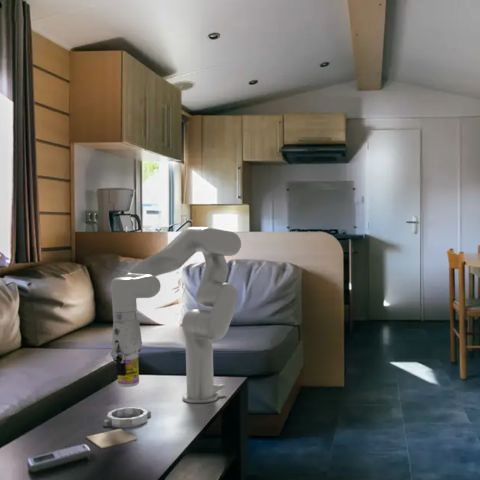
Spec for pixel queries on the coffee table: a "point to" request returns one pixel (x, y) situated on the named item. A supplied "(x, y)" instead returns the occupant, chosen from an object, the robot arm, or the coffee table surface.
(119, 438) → the mat
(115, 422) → the collar
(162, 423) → the coffee table surface
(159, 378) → the coffee table surface
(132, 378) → the supplement bottle
